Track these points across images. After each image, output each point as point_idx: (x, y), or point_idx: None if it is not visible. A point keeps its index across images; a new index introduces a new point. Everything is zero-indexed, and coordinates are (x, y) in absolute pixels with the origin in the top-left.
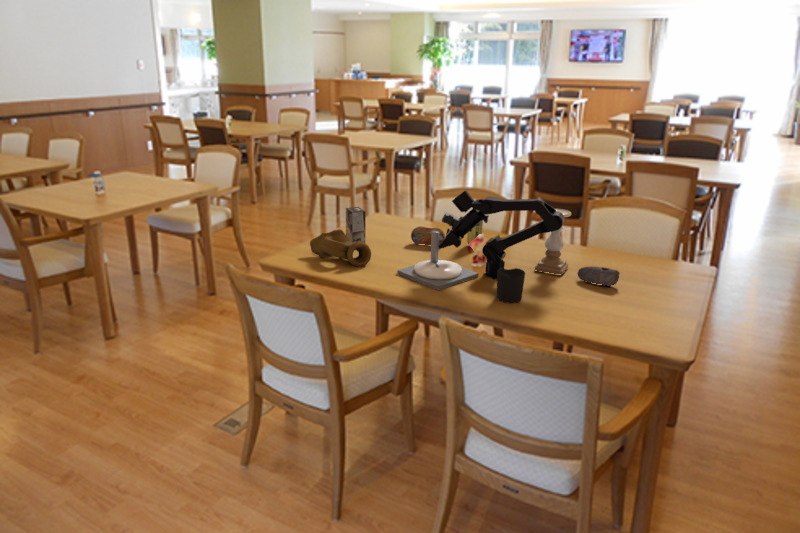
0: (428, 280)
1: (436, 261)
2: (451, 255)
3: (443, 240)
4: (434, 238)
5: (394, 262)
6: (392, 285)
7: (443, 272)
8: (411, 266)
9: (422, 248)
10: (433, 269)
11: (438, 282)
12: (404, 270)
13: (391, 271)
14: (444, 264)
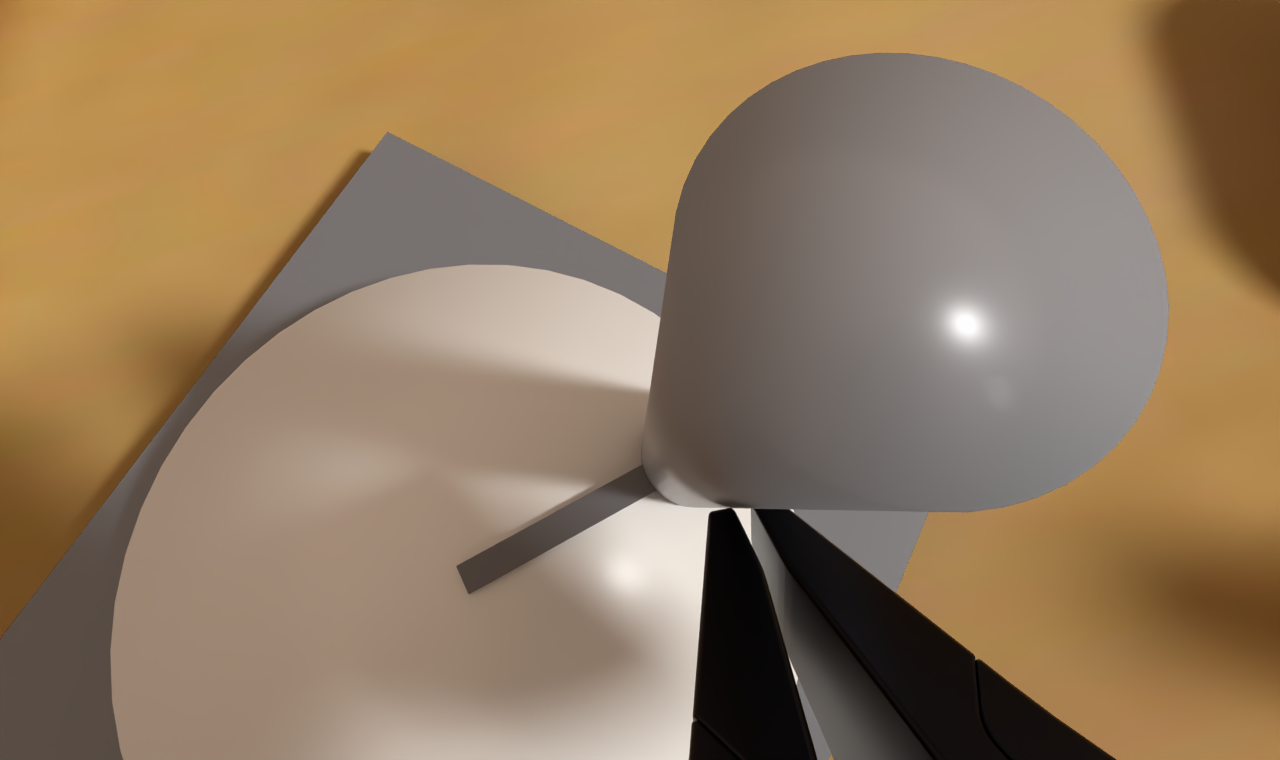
0: (123, 551)
1: (662, 494)
2: (1262, 522)
3: (718, 735)
4: (659, 363)
5: (712, 43)
6: (69, 215)
7: (268, 725)
8: (551, 226)
9: (1273, 151)
10: (359, 539)
11: (72, 702)
12: (395, 198)
13: (453, 93)
14: (625, 633)
